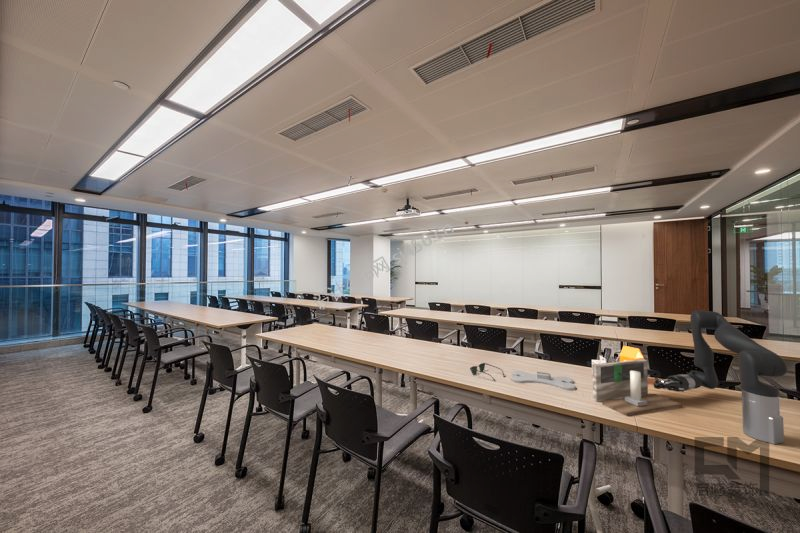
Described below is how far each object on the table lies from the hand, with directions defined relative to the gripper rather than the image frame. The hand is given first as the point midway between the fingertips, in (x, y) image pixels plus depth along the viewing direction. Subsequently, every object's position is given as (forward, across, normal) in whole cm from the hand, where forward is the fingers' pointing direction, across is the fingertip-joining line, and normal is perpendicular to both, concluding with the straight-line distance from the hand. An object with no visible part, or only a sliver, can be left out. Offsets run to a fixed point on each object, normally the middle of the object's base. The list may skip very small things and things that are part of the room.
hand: (655, 386), depth 142 cm
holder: (+32, -40, +9) cm, 52 cm away
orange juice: (-20, -26, +9) cm, 34 cm away
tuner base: (+9, -3, +8) cm, 13 cm away
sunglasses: (+58, -56, +9) cm, 81 cm away
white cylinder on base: (+13, -3, +7) cm, 15 cm away
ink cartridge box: (0, -30, +9) cm, 31 cm away
